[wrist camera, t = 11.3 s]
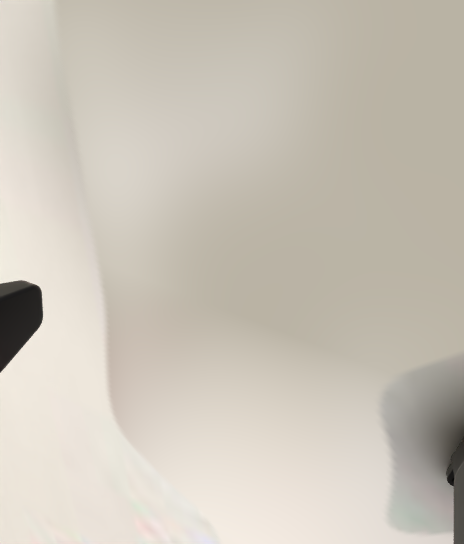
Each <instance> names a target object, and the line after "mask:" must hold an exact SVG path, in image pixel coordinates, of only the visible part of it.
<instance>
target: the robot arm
mask: <svg viewBox="0 0 464 544" xmlns="http://www.w3.org/2000/svg"><path fill="white" fill-rule="evenodd" d="M42 320H43V307H42V292H41V289H40V287H39V286H37V285H35V284H32V283H29V282H27V281H22V280H20V281H14V282H8V283H2V284H0V373H1V371H2V370H3V369H4V368H5V367H6V366H7V364H8V363H9V362H10V361H11V360H12V359H13V357H14V356H15V355H16V354H17V353H18V352H19V350H20V349H21V348H22V347H23V346H24V345H25V343H26V342H27V341H28V340H29V339H30V338H31V336H32V335H33V334H34V333H35V332H36V331H37V329H38V328H39V327H40V325H41V323H42ZM451 461H452V464H451V465H450V467H449V468H448V470H447V472H446V476H447V481H448V483H449V484H450V485H452V486H454V544H464V438H463V439H462V441H461V443H460V444H459V446H458V447H457V449H456V451H455V452H454V454H453V455H452V457H451Z"/></svg>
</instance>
